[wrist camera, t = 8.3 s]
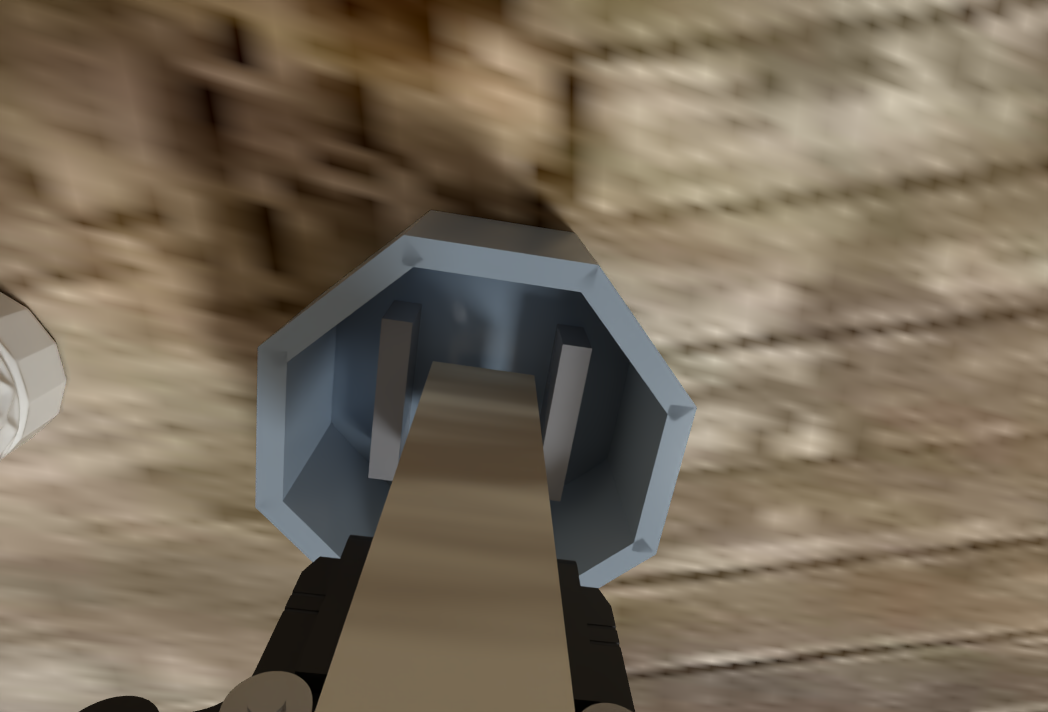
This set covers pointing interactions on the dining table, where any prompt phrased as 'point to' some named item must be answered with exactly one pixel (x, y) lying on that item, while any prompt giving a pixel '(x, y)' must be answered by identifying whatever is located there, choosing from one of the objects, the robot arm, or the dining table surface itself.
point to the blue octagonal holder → (479, 341)
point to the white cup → (26, 376)
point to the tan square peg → (460, 564)
